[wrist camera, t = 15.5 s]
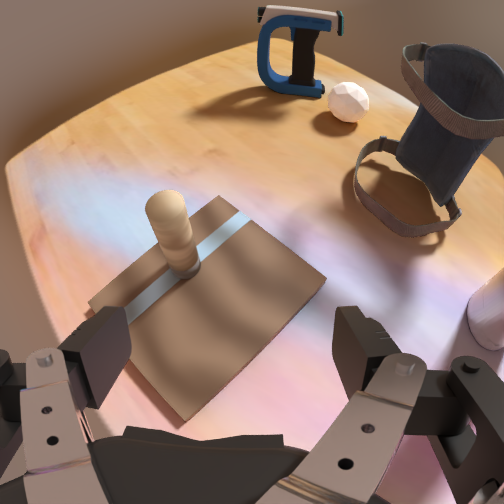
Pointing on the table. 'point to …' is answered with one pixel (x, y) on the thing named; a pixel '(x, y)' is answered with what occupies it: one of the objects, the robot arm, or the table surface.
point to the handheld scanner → (295, 46)
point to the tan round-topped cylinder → (174, 232)
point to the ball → (348, 102)
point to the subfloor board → (209, 306)
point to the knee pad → (443, 126)
